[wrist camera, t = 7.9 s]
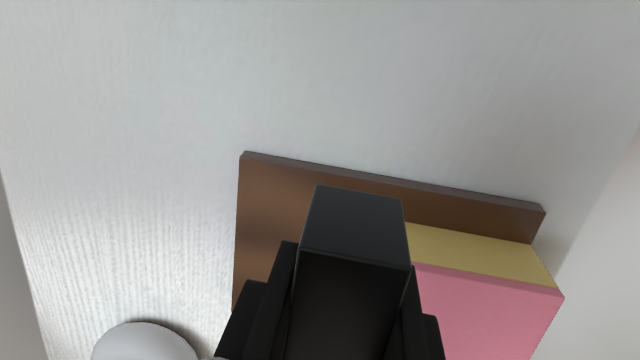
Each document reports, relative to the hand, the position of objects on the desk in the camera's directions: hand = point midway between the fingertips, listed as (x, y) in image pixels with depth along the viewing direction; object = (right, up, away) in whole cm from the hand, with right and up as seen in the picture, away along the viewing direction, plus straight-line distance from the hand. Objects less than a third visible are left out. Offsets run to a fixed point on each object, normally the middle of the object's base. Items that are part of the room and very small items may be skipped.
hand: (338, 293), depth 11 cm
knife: (-1, -6, +4) cm, 7 cm away
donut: (-16, -13, +25) cm, 33 cm away
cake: (+8, -4, +16) cm, 19 cm away
